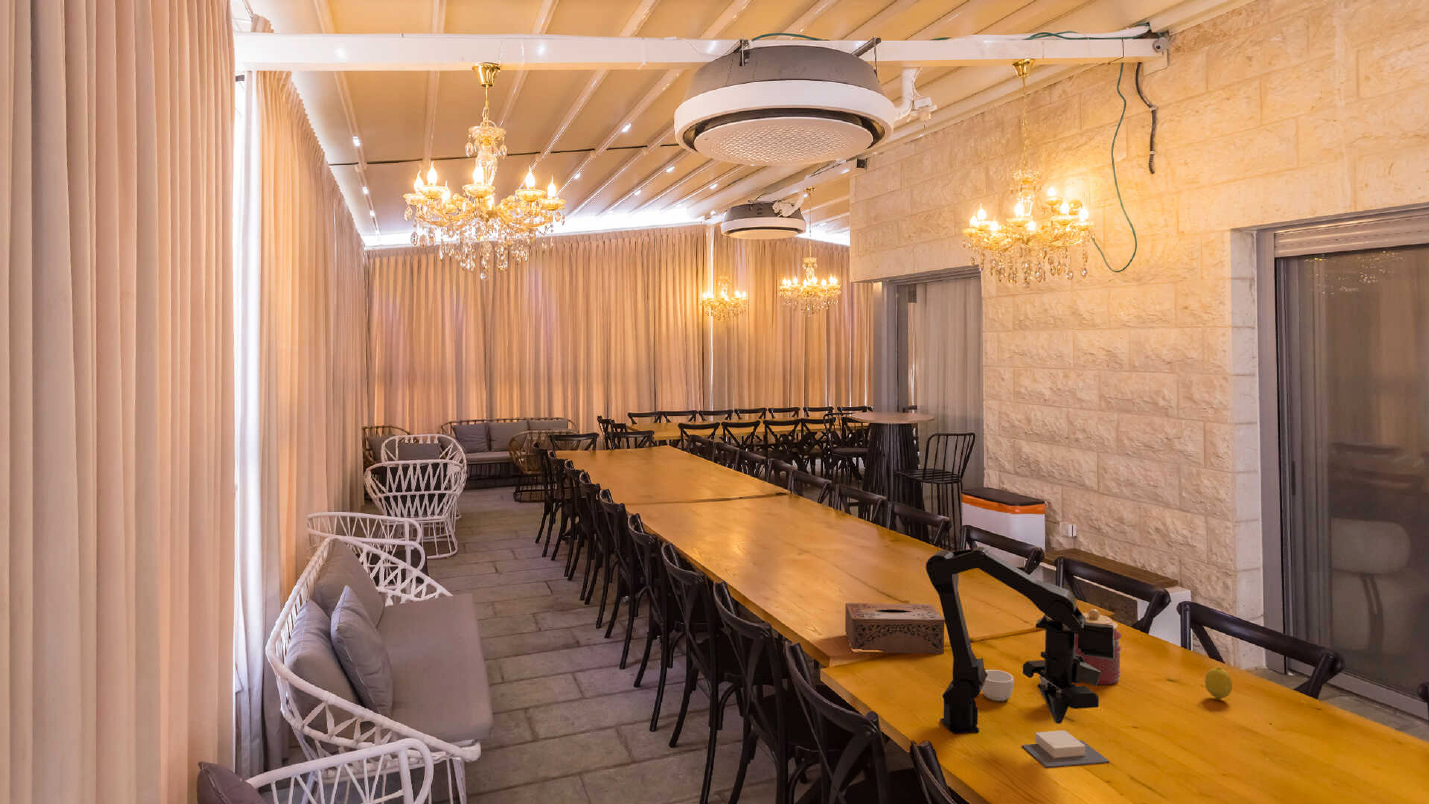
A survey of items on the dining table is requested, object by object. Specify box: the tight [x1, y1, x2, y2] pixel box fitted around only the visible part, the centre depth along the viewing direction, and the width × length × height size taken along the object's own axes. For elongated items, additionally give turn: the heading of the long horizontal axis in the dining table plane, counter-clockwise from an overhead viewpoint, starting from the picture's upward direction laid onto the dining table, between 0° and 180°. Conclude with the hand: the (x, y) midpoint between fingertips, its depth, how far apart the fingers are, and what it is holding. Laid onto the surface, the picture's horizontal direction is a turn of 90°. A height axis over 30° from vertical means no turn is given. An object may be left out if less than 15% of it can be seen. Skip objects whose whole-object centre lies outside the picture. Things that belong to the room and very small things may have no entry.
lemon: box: [1204, 666, 1233, 700], centre depth 188 cm, size 6×6×8 cm
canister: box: [1075, 608, 1122, 685], centre depth 203 cm, size 13×13×18 cm
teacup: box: [981, 669, 1015, 702], centre depth 190 cm, size 10×8×5 cm
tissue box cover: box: [844, 602, 945, 655], centre depth 226 cm, size 26×14×10 cm, turn 88°
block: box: [1034, 729, 1085, 758], centre depth 163 cm, size 7×2×7 cm
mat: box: [1021, 739, 1110, 769], centre depth 162 cm, size 14×9×1 cm, turn 99°
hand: (1058, 722), depth 164 cm, fingers closed
